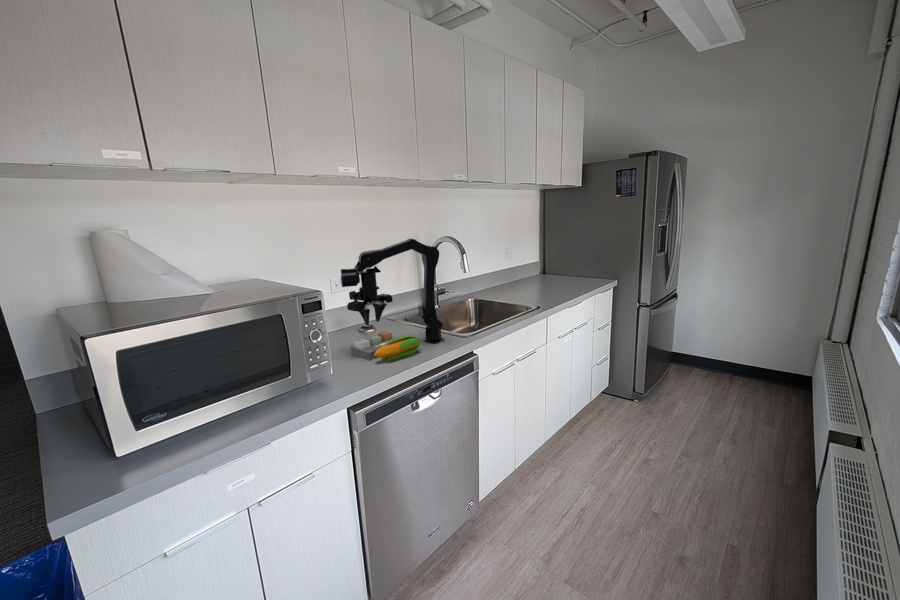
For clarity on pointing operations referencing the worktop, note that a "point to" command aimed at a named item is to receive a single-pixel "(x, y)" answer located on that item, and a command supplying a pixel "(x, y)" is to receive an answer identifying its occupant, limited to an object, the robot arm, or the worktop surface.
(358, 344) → the key offwhite
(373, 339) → the key sage
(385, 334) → the key terracotta
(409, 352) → the corn
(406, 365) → the worktop surface
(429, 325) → the robot arm
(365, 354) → the keypad
